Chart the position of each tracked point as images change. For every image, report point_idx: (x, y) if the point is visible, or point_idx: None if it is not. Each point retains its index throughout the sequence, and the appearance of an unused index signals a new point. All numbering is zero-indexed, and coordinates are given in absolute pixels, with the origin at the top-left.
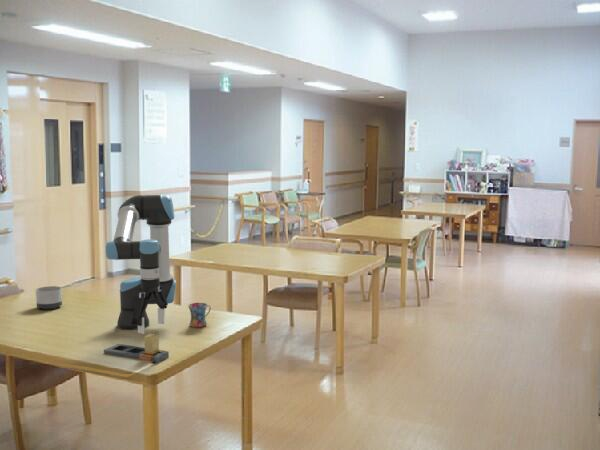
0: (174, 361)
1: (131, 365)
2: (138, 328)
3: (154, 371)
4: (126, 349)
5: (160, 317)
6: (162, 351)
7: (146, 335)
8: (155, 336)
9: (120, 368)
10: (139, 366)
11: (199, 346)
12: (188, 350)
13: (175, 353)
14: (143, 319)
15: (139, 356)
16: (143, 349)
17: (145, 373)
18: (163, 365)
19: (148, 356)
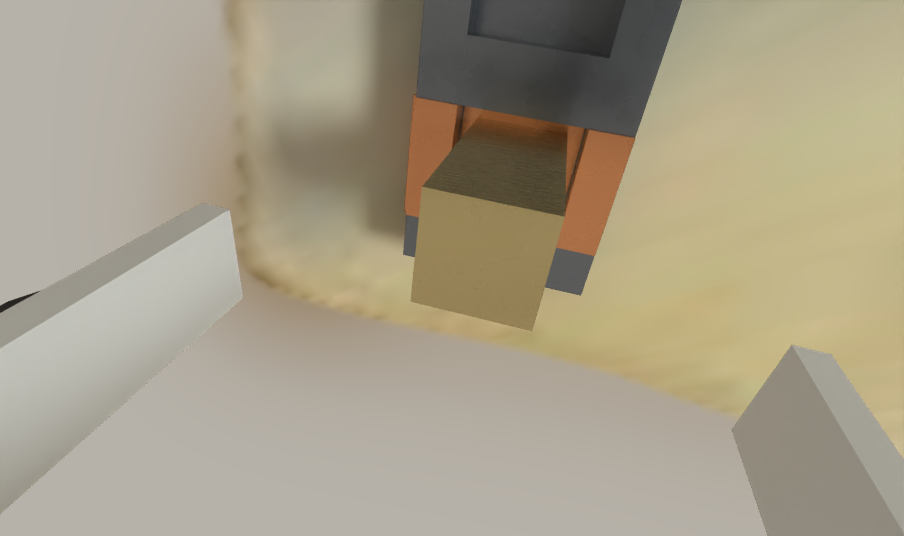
0: (501, 328)
1: (328, 62)
2: (146, 249)
3: (302, 272)
4: None
5: (815, 508)
6: (572, 250)
7: (455, 201)
8: (468, 312)
9: (237, 4)
10: (335, 139)
11: (890, 407)
12: (772, 356)
13: (686, 288)
14: (9, 478)
15: (419, 90)
16: (618, 27)
17: (252, 235)
18: (411, 288)
19: (410, 191)
